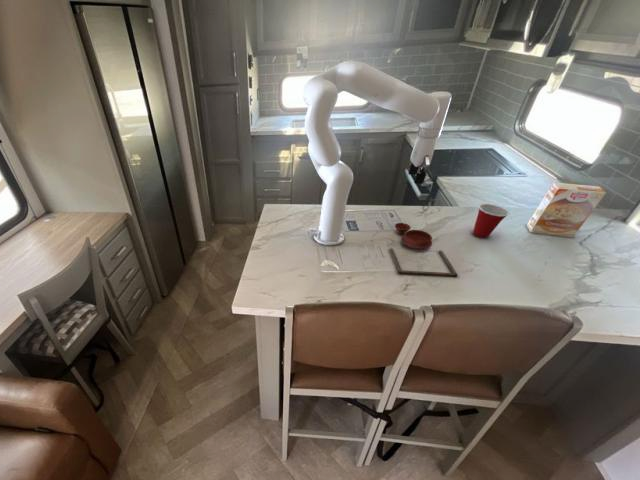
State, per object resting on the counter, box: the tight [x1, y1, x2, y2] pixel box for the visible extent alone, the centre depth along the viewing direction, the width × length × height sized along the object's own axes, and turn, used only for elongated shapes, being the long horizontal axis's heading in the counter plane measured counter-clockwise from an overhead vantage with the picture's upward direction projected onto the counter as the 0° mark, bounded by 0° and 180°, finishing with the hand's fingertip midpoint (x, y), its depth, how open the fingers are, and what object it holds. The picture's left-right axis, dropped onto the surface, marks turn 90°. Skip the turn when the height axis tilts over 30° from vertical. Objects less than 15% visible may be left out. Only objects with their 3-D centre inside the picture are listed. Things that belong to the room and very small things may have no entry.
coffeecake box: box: [526, 181, 607, 238], centre depth 130 cm, size 15×7×20 cm, turn 68°
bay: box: [389, 247, 458, 278], centre depth 122 cm, size 20×16×1 cm
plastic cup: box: [472, 203, 510, 239], centre depth 132 cm, size 11×11×12 cm
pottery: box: [394, 222, 433, 250], centre depth 134 cm, size 12×20×4 cm, turn 10°
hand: (415, 178), depth 127 cm, fingers open, 9 cm apart
